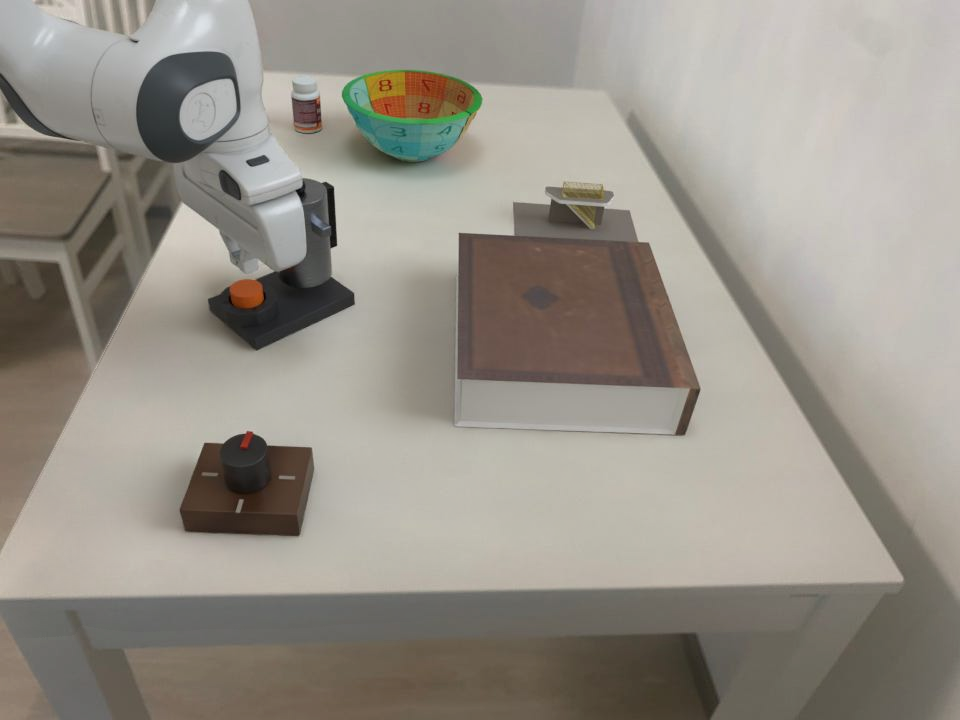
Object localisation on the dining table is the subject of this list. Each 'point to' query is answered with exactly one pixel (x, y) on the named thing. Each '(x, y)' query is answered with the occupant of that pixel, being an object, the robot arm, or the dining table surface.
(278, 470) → the dial panel
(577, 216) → the platform
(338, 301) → the button base
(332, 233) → the kettle
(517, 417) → the book
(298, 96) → the pill bottle
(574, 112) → the dining table surface
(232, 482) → the dial knob
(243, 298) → the orange button
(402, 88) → the bowl
